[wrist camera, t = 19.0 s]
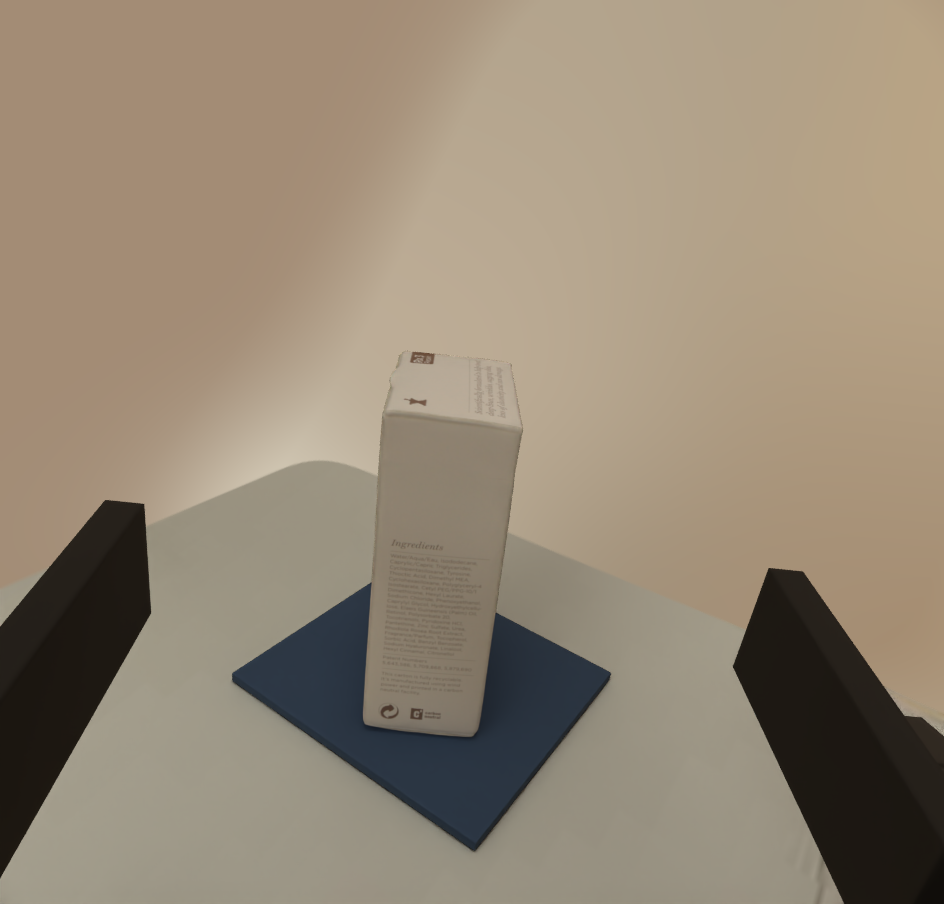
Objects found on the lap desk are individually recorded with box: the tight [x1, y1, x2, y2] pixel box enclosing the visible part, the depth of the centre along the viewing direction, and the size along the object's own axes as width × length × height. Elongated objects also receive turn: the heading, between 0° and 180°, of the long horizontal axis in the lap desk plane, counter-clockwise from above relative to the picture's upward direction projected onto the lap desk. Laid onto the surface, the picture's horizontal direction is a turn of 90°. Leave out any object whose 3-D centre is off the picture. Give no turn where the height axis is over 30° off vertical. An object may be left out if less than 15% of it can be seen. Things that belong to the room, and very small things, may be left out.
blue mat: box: [232, 582, 611, 851], centre depth 30 cm, size 11×10×1 cm
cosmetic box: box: [363, 351, 523, 737], centre depth 27 cm, size 6×4×12 cm
